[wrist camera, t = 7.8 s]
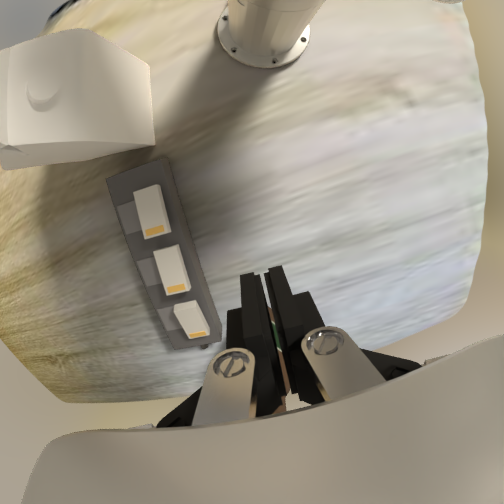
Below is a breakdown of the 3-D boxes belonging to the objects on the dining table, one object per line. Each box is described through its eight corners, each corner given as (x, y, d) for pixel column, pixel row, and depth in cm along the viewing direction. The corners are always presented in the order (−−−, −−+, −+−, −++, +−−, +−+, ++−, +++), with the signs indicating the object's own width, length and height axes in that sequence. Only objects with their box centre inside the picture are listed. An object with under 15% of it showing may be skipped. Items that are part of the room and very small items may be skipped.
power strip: (117, 175, 36) (105, 179, 32) (167, 157, 36) (159, 159, 32) (184, 347, 48) (181, 363, 44) (227, 339, 48) (226, 355, 44)
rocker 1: (137, 192, 33) (132, 192, 32) (160, 185, 33) (156, 184, 32) (148, 238, 34) (144, 239, 33) (171, 231, 34) (168, 232, 33)
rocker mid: (156, 249, 36) (152, 252, 35) (178, 243, 36) (175, 245, 35) (169, 292, 37) (166, 295, 36) (191, 287, 37) (189, 290, 36)
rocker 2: (174, 304, 38) (173, 312, 37) (196, 300, 38) (195, 307, 37) (189, 331, 41) (189, 339, 40) (209, 328, 41) (209, 335, 40)
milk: (79, 86, 31) (-53, 62, 6) (149, 65, 31) (44, -14, 7) (85, 160, 35) (-53, 200, 11) (155, 145, 35) (35, 158, 11)
